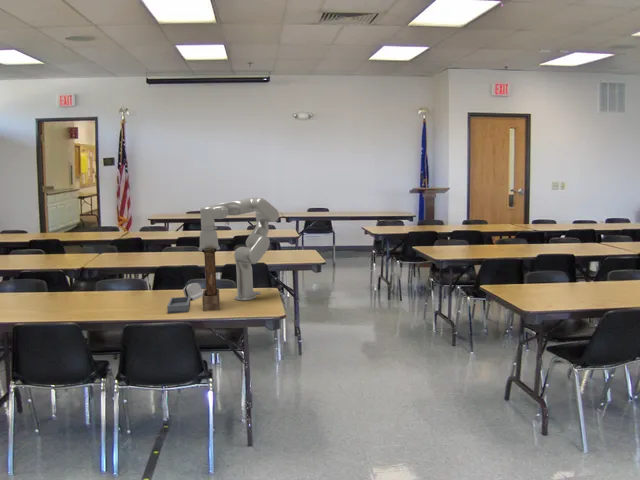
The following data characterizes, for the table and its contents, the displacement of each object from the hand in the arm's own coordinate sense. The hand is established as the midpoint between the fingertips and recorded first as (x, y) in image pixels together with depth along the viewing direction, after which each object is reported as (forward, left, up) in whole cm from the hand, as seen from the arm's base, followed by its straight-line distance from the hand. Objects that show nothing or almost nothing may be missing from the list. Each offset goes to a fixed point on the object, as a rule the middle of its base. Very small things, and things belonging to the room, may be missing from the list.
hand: (209, 260), depth 312 cm
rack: (0, 0, -27) cm, 27 cm away
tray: (+18, 0, -27) cm, 32 cm away
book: (0, 0, -19) cm, 19 cm away
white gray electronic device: (+12, -27, -27) cm, 40 cm away
